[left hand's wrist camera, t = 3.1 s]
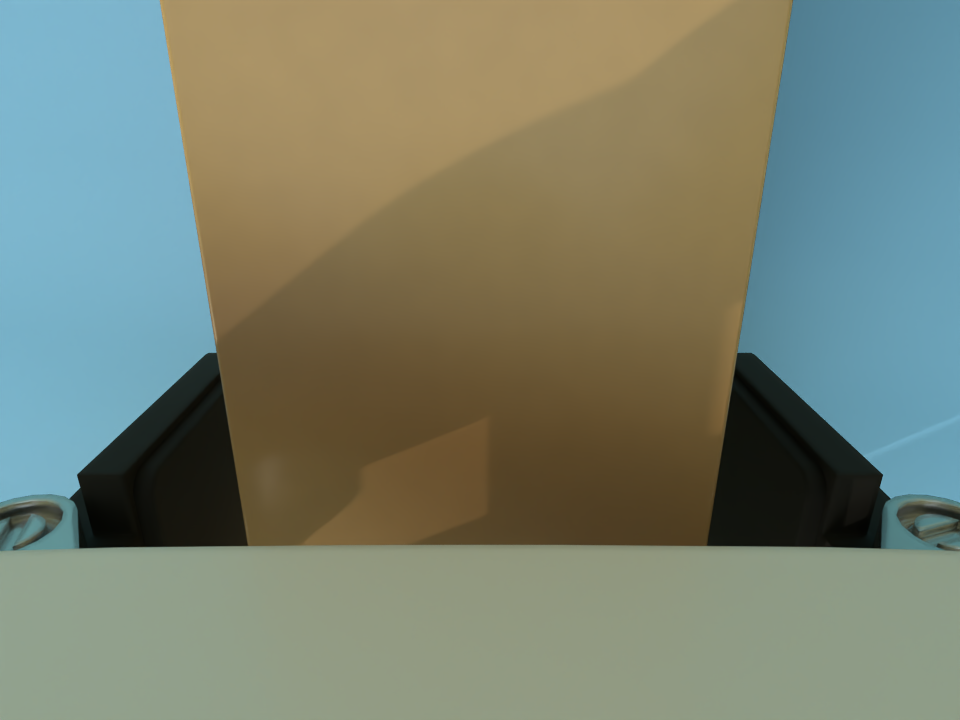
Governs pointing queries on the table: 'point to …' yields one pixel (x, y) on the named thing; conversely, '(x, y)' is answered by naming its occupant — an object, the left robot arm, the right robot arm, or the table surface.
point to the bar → (476, 258)
